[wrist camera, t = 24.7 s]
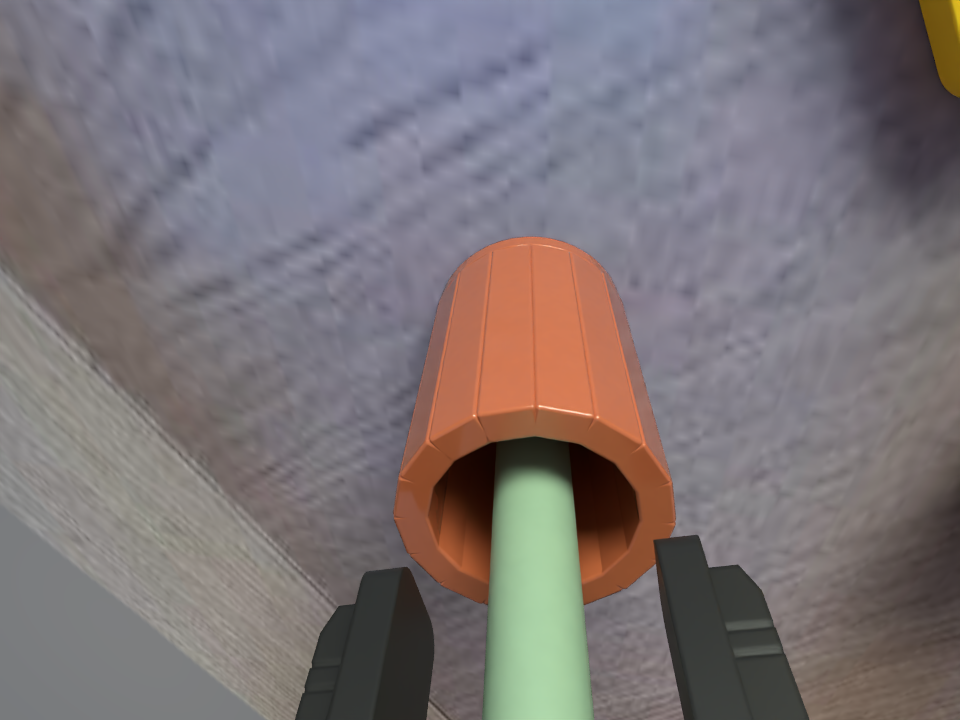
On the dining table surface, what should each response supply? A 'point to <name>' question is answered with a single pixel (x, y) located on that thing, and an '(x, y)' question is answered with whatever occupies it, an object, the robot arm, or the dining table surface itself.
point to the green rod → (535, 589)
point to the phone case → (944, 39)
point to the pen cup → (532, 416)
